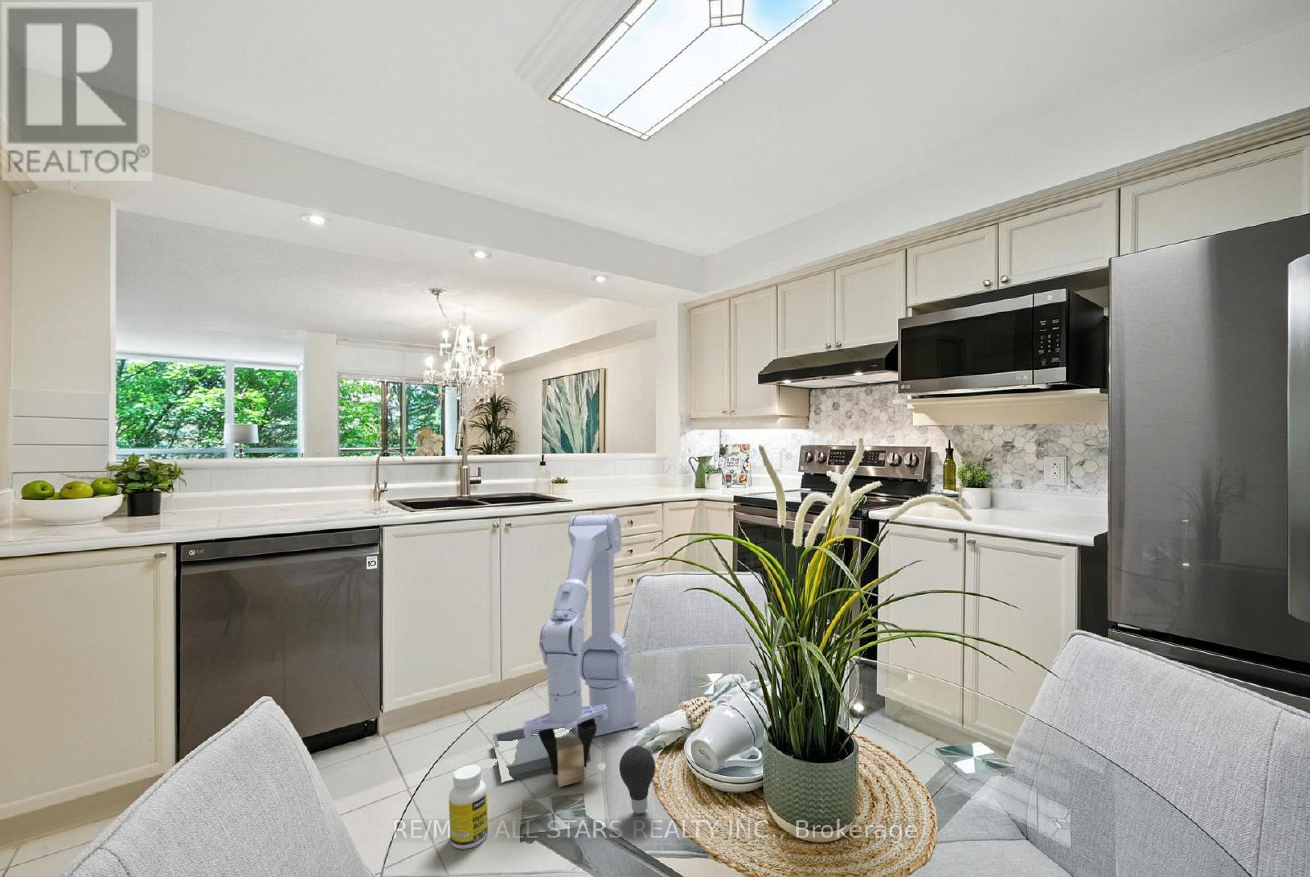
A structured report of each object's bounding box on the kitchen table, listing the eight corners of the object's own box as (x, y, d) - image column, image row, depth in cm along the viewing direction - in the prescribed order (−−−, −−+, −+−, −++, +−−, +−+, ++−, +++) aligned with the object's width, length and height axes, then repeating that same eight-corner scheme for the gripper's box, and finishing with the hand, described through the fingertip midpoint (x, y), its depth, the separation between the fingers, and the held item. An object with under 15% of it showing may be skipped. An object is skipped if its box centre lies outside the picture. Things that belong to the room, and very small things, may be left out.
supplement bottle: (477, 852, 82) (473, 783, 82) (443, 849, 83) (440, 781, 84) (495, 827, 87) (491, 762, 88) (462, 825, 88) (459, 761, 89)
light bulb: (654, 799, 92) (651, 737, 92) (660, 821, 87) (656, 754, 87) (620, 805, 91) (616, 742, 91) (624, 827, 86) (620, 760, 86)
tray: (572, 728, 118) (572, 716, 119) (590, 760, 105) (589, 746, 106) (493, 746, 113) (492, 734, 113) (501, 783, 100) (500, 768, 100)
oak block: (578, 767, 102) (577, 733, 102) (584, 780, 98) (583, 744, 98) (554, 773, 100) (552, 739, 100) (559, 786, 96) (557, 750, 96)
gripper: (526, 707, 93) (530, 791, 93) (611, 689, 98) (615, 768, 98) (520, 691, 100) (524, 770, 99) (600, 675, 105) (604, 750, 105)
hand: (569, 768), depth 99 cm, fingers closed on oak block, 4 cm apart
